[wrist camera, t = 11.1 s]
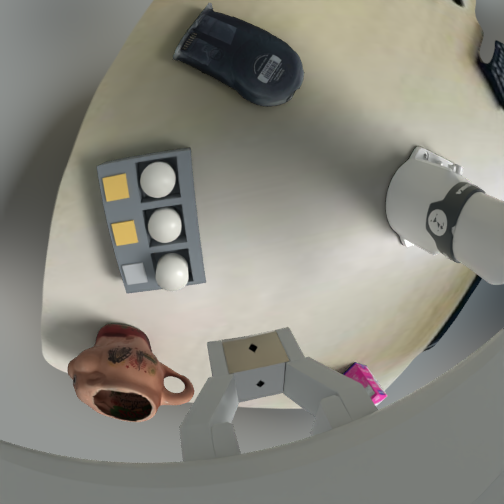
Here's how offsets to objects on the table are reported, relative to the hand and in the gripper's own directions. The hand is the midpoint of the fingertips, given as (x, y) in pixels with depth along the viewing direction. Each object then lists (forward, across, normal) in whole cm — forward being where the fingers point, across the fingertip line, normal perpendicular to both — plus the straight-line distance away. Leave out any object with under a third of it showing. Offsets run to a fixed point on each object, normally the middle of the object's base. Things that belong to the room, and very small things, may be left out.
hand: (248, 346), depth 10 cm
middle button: (+26, +5, +3) cm, 27 cm away
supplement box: (+27, -31, +48) cm, 63 cm away
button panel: (+27, +7, +3) cm, 28 cm away
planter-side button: (+24, +5, +9) cm, 26 cm away
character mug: (+27, +15, +24) cm, 40 cm away
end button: (+26, +5, -2) cm, 26 cm away
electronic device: (+28, -6, -16) cm, 33 cm away
